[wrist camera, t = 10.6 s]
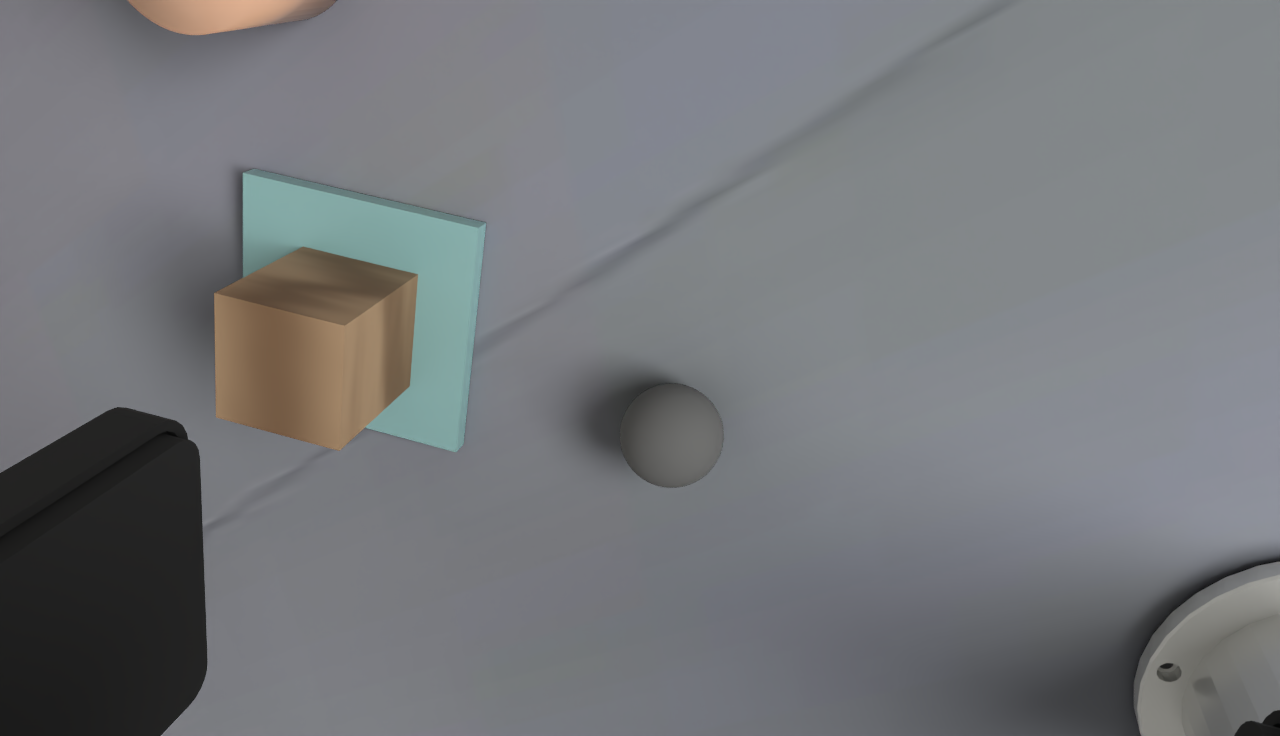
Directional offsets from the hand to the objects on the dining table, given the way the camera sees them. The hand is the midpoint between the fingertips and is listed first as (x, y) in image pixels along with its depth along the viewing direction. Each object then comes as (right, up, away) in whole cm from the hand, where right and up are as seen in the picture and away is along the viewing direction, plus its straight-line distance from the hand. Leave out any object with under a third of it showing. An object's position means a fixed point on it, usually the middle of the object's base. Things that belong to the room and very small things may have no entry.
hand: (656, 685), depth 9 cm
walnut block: (-12, +5, +33) cm, 36 cm away
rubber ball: (+1, 0, +31) cm, 31 cm away
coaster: (-12, +5, +34) cm, 36 cm away
